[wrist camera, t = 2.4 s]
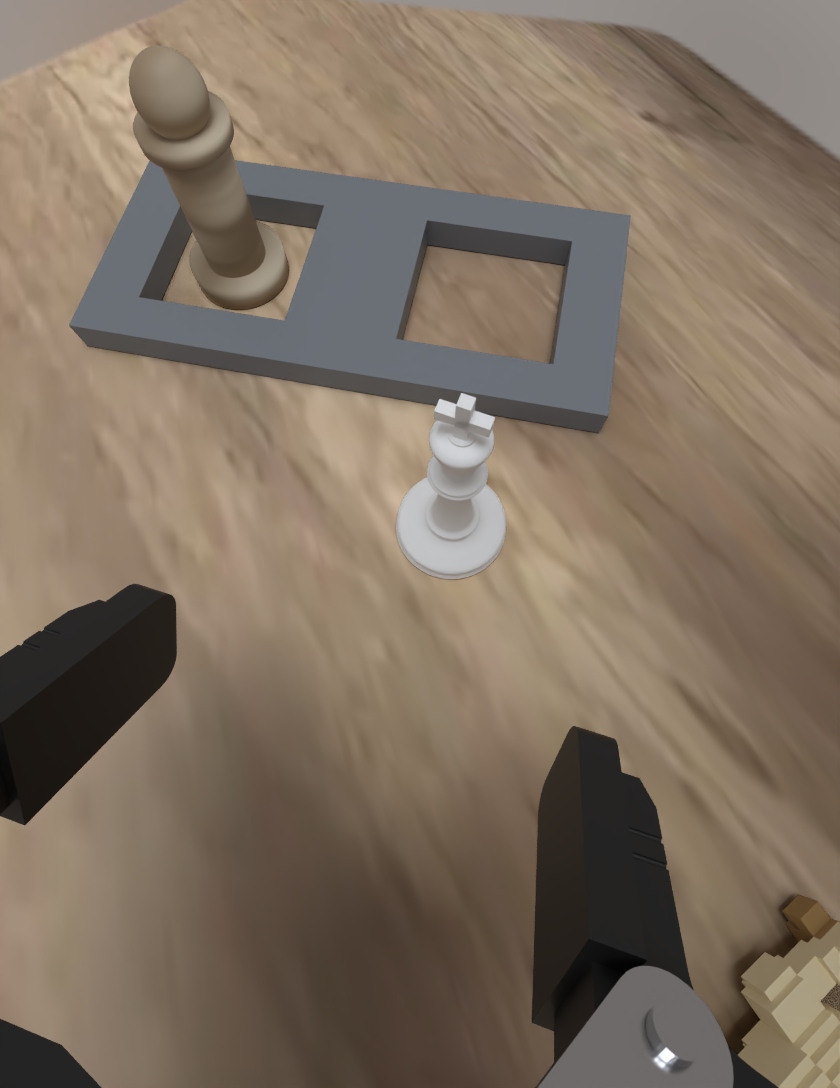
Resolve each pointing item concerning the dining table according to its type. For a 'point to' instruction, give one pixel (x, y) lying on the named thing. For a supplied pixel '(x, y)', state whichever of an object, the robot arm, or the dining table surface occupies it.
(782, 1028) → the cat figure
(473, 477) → the chess piece
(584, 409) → the grey chess piece holder
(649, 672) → the dining table surface
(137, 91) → the pawn
